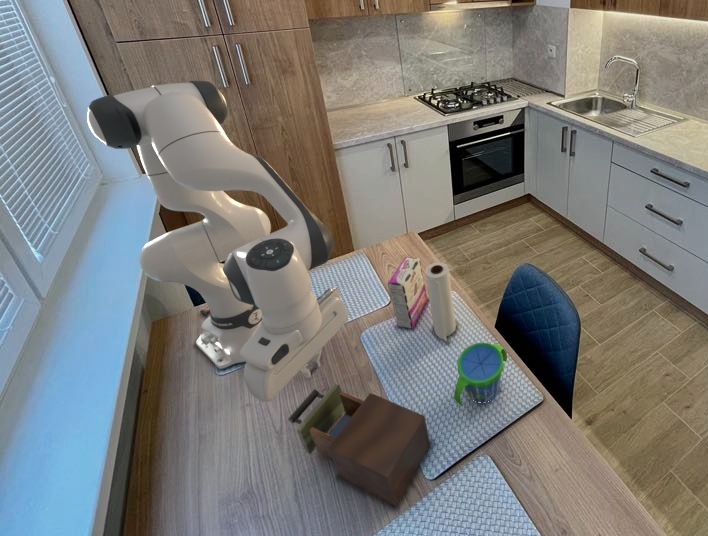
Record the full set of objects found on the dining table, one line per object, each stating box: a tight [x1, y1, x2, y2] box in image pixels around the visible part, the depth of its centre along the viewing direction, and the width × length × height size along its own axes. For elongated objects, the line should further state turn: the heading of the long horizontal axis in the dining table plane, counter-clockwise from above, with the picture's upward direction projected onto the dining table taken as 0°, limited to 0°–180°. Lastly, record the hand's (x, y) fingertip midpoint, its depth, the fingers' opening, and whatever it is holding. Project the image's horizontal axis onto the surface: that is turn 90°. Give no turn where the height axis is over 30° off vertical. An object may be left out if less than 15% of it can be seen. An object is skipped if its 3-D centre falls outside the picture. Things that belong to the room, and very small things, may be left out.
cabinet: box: [329, 392, 431, 508], centre depth 81 cm, size 14×12×10 cm
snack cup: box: [453, 342, 508, 407], centre depth 94 cm, size 16×10×10 cm
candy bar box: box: [387, 256, 428, 329], centre depth 115 cm, size 11×5×16 cm, turn 168°
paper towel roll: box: [424, 261, 457, 343], centre depth 108 cm, size 7×6×21 cm
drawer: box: [288, 382, 364, 461], centre depth 86 cm, size 18×11×8 cm, turn 68°
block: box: [328, 414, 351, 438], centre depth 84 cm, size 5×5×5 cm
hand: (312, 371), depth 80 cm, fingers closed
